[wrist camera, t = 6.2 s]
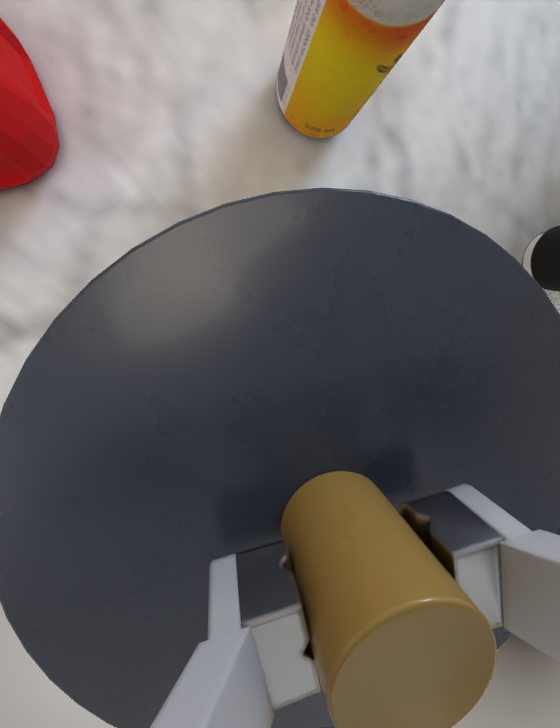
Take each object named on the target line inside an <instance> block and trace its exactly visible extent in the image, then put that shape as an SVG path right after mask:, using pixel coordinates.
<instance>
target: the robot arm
mask: <svg viewBox="0 0 560 728" xmlns="http://www.w3.org/2000/svg"><path fill="white" fill-rule="evenodd" d="M400 515H401V516H402V517H403V518H404V519H405V521H406V522H407V523H408V524H409V525H410V527H411V528H412V529H413V530H414V531H415V533H416V534H417V535H418V536H419V537H420V539H421V540H422V541H423V542H424V543H425V545H426V546H427V547H428V548H429V549H430V551H431V552H432V553H433V554H434V555H435V557H436V558H437V559H438V560H439V561H440V563H441V564H442V565H443V566H444V567H445V569H446V570H447V571H448V572H449V573H450V575H451V576H452V577H453V578H454V579H455V581H456V582H457V583H458V584H459V585H460V587H461V588H462V589H463V590H464V591H465V593H466V594H467V595H468V596H469V597H470V599H471V600H472V601H473V602H474V603H475V605H476V606H477V607H478V608H479V609H480V611H481V612H482V613H483V614H484V616H485V617H486V618H487V619H488V621H489V623H490V625H491V627H492V629H494V628H497V627H500V626H503V625H504V628H505V629H506V630H508V631H509V632H511V633H513V634H514V635H516V636H518V637H519V638H521V639H522V640H524V641H526V642H527V643H529V644H530V645H532V646H534V647H535V648H537V649H538V650H540V651H542V652H543V653H545V654H546V655H548V656H550V657H551V658H553V659H555V660H556V661H558V662H559V663H560V535H557V534H554V533H550V532H547V531H544V530H541V529H539V530H536V531H531V530H530V529H529V528H527V527H526V526H525V525H523V524H522V523H521V522H519V521H518V520H517V519H515V518H514V517H513V516H511V515H510V514H508V513H507V512H506V511H504V510H503V509H502V508H500V507H499V506H498V505H496V504H495V503H494V502H492V501H491V500H490V499H488V498H487V497H486V496H484V495H483V494H482V493H480V492H479V491H478V490H476V489H475V488H474V487H472V486H471V485H468V484H461V485H458V486H455V487H452V488H449V489H446V490H444V491H443V492H439V493H435V494H432V495H429V496H426V497H422V498H419V499H416V500H413V501H410V502H406V503H403V504H401V508H400ZM309 640H310V638H309V634H308V630H307V626H306V621H305V617H304V613H303V608H302V604H301V601H300V597H299V593H298V589H297V585H296V582H295V578H294V574H293V572H292V569H291V565H290V561H289V556H288V552H287V549H286V545H285V542H284V540H281V541H277V542H274V543H270V544H266V545H263V546H259V547H256V548H252V549H248V550H245V551H241V552H238V553H237V554H232V555H228V556H225V557H221V558H218V559H214V560H212V561H211V564H210V568H209V605H208V640H206V641H203V642H201V643H199V644H198V646H197V647H196V649H195V651H194V652H193V654H192V656H191V658H190V659H189V661H188V663H187V664H186V666H185V668H184V670H183V671H182V673H181V675H180V677H179V678H178V680H177V682H176V683H175V685H174V687H173V689H172V690H171V692H170V694H169V695H168V697H167V699H166V701H165V702H164V704H163V706H162V708H161V709H160V711H159V713H158V714H157V716H156V718H155V720H154V721H153V723H152V725H151V727H150V728H271V726H272V722H273V718H274V712H273V711H274V710H276V709H279V708H281V707H284V706H286V705H289V704H291V703H293V702H296V701H298V700H301V699H303V698H306V697H308V696H310V695H313V694H315V693H318V692H320V691H321V690H320V685H319V680H318V675H317V671H316V666H315V661H314V657H313V653H312V650H311V646H310V642H309Z"/></svg>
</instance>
